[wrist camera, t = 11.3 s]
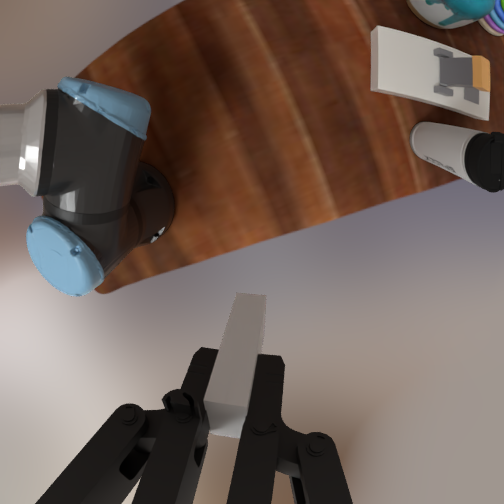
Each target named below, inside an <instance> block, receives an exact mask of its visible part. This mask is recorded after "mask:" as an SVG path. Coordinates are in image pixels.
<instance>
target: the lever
mask: <svg viewBox="0 0 504 504" xmlns="http://www.w3.org/2000/svg"><path fill="white" fill-rule="evenodd" d="M439 85H440V86H443V87H448V86H452V87H464V88H474V89H478V90H480V91H485V92H490V61H488V60H487V59H485V58H484V57H482V56H472V57H458V58H444V57H439Z"/></svg>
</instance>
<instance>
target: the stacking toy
mask: <svg viewBox="0 0 504 504" xmlns="http://www.w3.org/2000/svg"><path fill="white" fill-rule="evenodd" d="M478 22H479V23H480V25H481V26H482V27H483V28H484V29H485V30H486V31H487V32H489V33H490V34H492V35H495V36H502V35H504V0H495V5H494V8H493V10H492V11H491V12H490V13H489V14H488V15H486V16H485V17H483V18H482V19H479V20H478Z"/></svg>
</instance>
